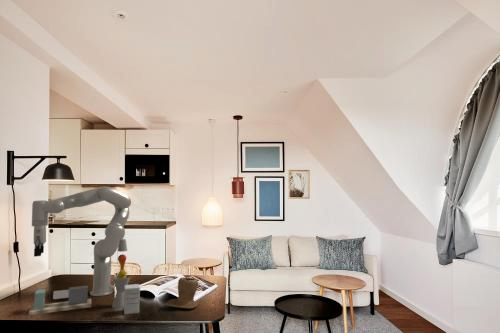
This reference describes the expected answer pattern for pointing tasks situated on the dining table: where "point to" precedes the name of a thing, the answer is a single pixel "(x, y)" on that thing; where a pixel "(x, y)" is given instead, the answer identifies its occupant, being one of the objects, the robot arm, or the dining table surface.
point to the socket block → (39, 299)
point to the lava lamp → (120, 277)
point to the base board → (59, 307)
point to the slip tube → (61, 294)
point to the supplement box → (131, 298)
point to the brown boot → (185, 294)
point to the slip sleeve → (78, 295)
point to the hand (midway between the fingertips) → (38, 254)
